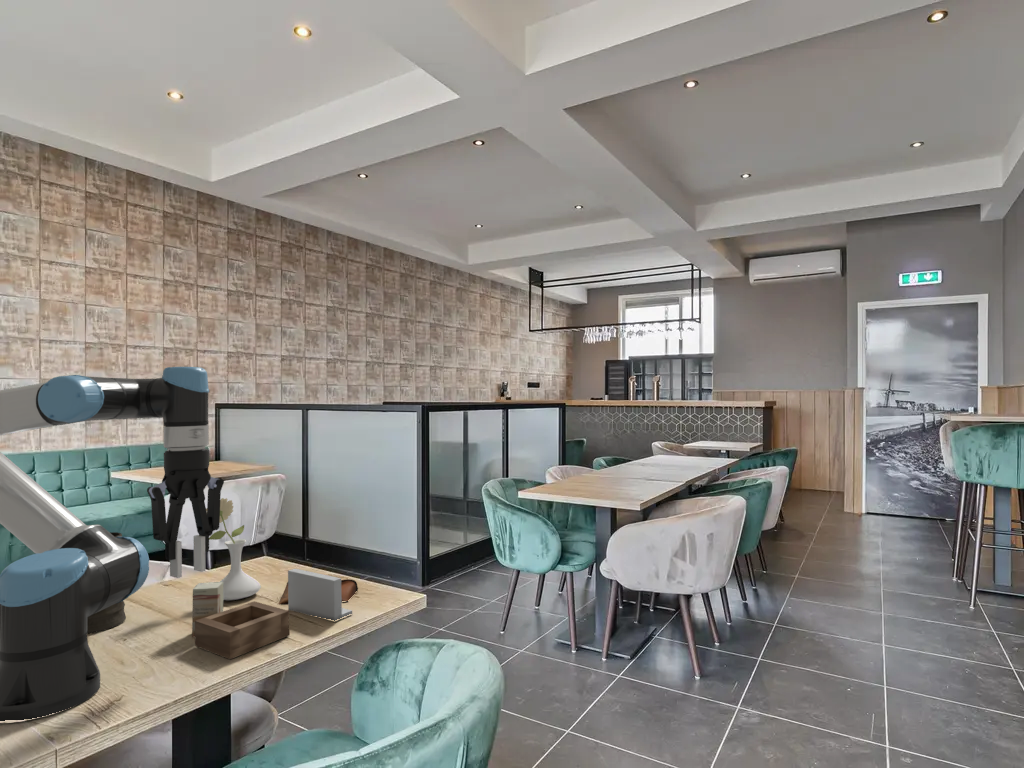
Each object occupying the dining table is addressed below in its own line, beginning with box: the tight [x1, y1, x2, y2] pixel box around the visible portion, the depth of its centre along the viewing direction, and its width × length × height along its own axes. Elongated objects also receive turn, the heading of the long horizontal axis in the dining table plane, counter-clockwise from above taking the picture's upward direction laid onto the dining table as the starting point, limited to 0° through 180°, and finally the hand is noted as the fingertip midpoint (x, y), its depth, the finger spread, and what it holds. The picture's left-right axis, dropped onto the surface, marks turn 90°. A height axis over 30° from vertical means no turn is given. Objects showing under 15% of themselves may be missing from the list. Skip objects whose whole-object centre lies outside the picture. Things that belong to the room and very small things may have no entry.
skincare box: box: [191, 581, 224, 638], centre depth 125 cm, size 5×4×10 cm
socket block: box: [194, 601, 291, 660], centre depth 120 cm, size 13×12×5 cm
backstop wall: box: [287, 568, 353, 621], centre depth 136 cm, size 5×16×9 cm, turn 57°
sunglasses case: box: [278, 579, 359, 605], centre depth 147 cm, size 18×7×7 cm
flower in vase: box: [206, 497, 262, 601], centre depth 148 cm, size 13×11×25 cm
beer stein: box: [87, 531, 127, 634], centre depth 133 cm, size 15×11×20 cm
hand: (187, 573), depth 111 cm, fingers open, 4 cm apart
